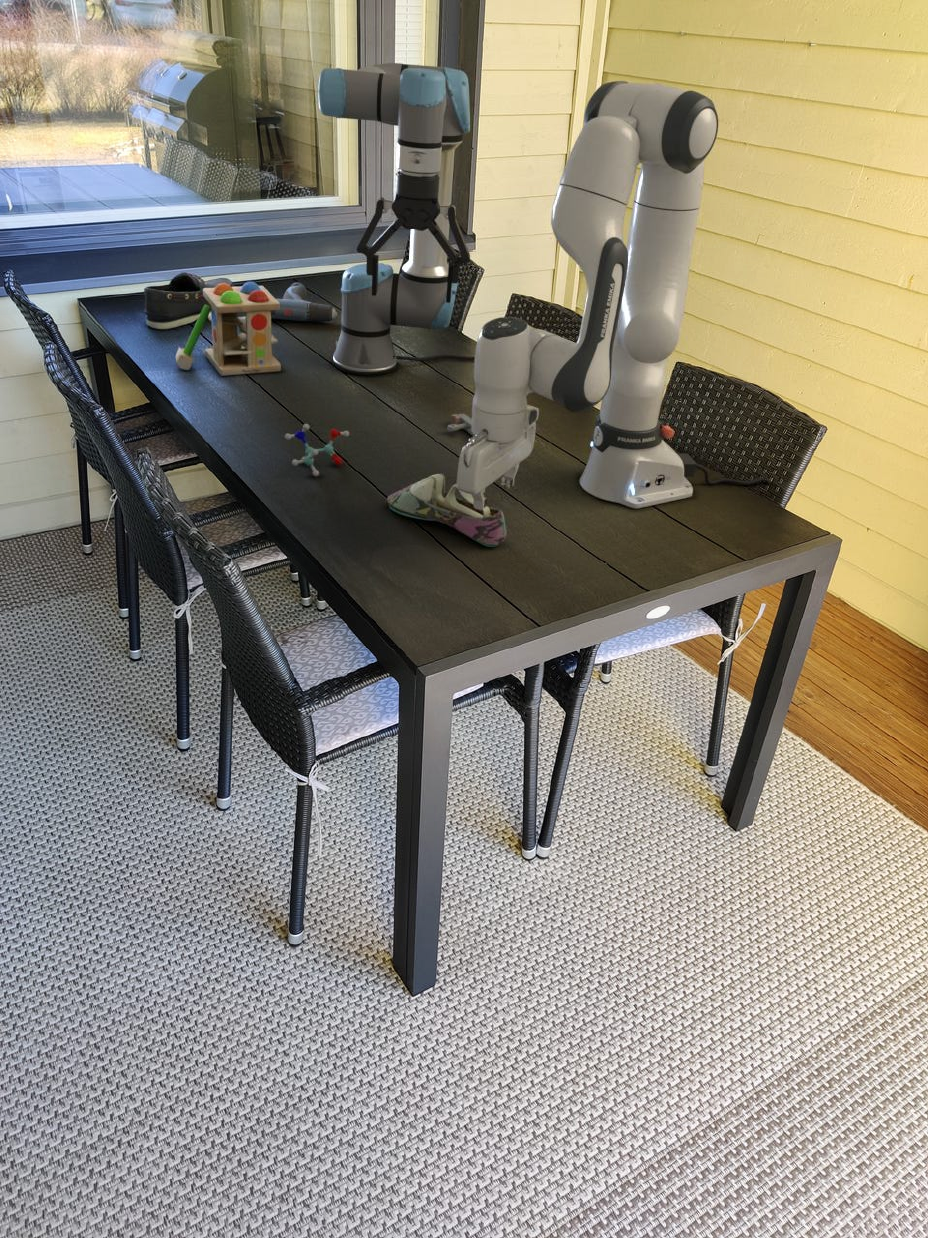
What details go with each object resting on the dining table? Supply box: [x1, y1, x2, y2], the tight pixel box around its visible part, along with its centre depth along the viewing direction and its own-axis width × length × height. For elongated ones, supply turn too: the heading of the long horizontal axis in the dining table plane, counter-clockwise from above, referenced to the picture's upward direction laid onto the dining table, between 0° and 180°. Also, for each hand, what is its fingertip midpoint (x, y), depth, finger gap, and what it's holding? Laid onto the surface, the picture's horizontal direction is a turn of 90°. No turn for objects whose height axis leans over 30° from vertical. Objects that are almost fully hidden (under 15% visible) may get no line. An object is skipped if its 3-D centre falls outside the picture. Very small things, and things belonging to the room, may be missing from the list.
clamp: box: [447, 413, 476, 441], centre depth 208 cm, size 15×2×10 cm
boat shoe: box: [143, 271, 236, 330], centre depth 257 cm, size 13×33×10 cm, turn 147°
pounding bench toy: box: [174, 281, 282, 377], centre depth 225 cm, size 23×14×18 cm, turn 116°
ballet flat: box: [386, 473, 508, 548], centre depth 173 cm, size 8×24×9 cm, turn 56°
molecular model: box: [284, 423, 350, 477], centre depth 188 cm, size 12×10×10 cm
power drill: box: [271, 282, 338, 322], centre depth 265 cm, size 5×19×20 cm
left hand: (411, 297), depth 180 cm, fingers open, 13 cm apart
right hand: (493, 497), depth 167 cm, fingers open, 8 cm apart
